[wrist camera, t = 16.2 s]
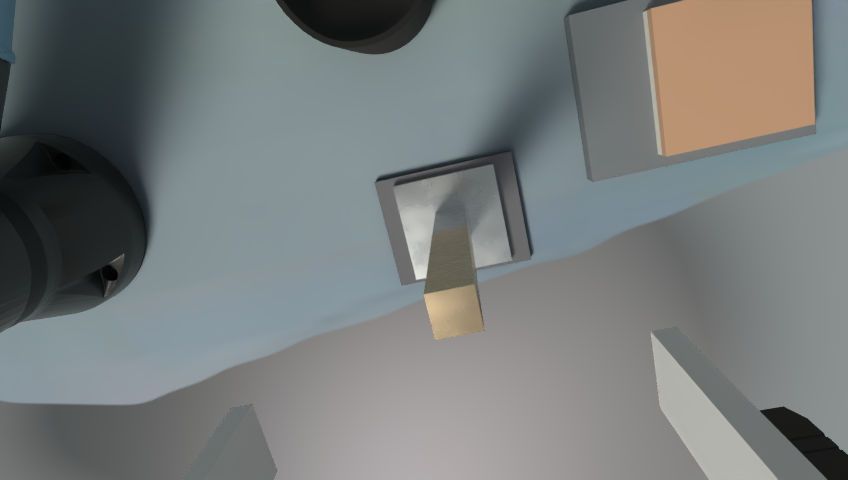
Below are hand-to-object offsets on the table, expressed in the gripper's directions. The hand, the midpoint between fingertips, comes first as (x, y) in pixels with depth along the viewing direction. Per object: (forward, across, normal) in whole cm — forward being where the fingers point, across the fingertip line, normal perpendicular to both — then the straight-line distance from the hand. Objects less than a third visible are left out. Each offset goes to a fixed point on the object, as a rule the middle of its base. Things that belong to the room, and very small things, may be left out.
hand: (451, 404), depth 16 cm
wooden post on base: (+25, 0, 0) cm, 25 cm away
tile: (+23, +16, +7) cm, 29 cm away
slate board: (+26, +19, +7) cm, 33 cm away
